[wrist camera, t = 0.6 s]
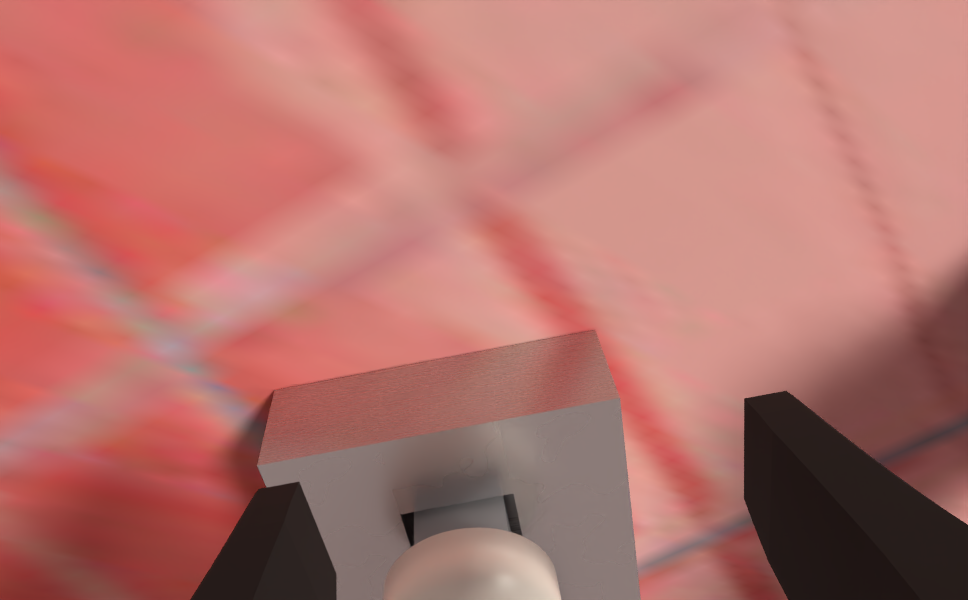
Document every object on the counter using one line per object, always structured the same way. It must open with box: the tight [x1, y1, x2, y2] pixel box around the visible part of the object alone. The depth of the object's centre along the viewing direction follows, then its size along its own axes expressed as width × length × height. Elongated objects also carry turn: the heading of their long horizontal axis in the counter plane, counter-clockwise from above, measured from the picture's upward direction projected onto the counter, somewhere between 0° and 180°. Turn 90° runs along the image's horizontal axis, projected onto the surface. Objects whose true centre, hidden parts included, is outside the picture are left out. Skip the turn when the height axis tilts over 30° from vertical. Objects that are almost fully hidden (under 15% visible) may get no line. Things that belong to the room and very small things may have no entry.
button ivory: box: [383, 495, 561, 600], centre depth 21 cm, size 4×4×4 cm
